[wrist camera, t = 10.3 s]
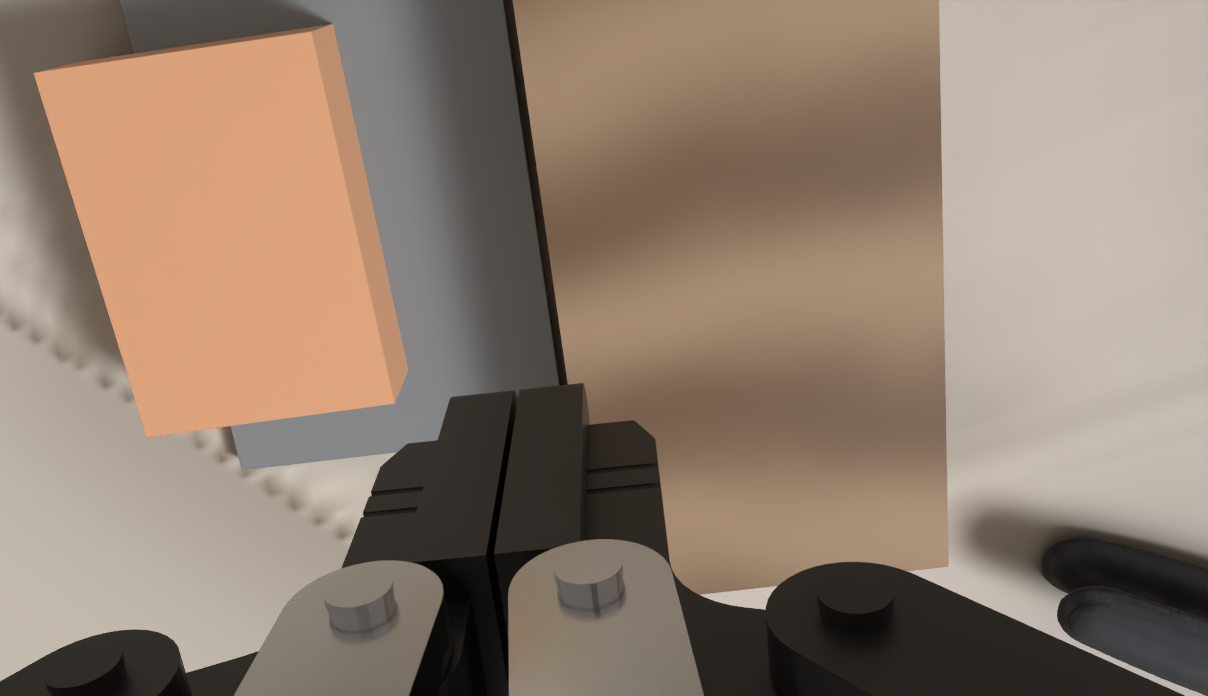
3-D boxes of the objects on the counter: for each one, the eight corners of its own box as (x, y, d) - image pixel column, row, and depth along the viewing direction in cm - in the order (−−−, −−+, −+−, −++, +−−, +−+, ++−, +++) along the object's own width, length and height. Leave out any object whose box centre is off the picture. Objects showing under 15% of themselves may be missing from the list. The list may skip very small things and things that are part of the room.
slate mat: (106, -86, 29) (96, -87, 29) (484, -136, 29) (482, -138, 29) (247, 461, 35) (241, 470, 34) (566, 424, 35) (565, 432, 34)
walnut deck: (479, -314, 28) (461, -353, 24) (884, -370, 27) (931, -418, 24) (598, 535, 36) (599, 606, 32) (910, 499, 36) (948, 566, 32)
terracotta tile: (311, 31, 27) (333, 23, 30) (33, 72, 28) (76, 62, 30) (394, 403, 31) (408, 370, 33) (146, 437, 31) (177, 402, 34)
